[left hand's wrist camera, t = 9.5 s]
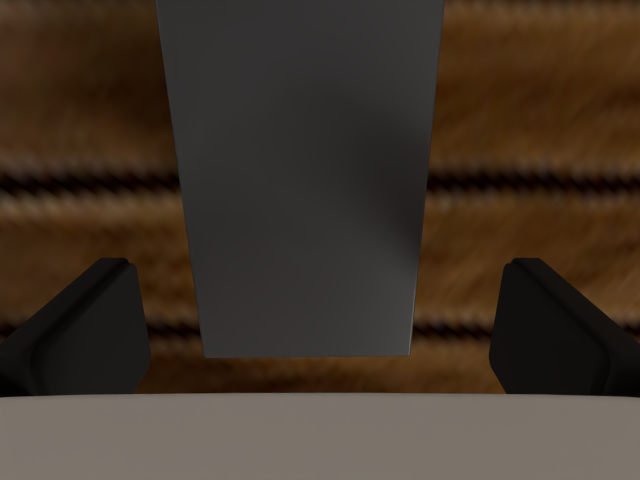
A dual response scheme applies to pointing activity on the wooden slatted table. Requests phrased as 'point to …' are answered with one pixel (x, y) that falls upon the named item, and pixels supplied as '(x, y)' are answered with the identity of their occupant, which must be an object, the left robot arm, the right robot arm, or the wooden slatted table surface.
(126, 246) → the wooden slatted table surface
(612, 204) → the wooden slatted table surface
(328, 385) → the wooden slatted table surface
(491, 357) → the left robot arm
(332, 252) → the cabinet
